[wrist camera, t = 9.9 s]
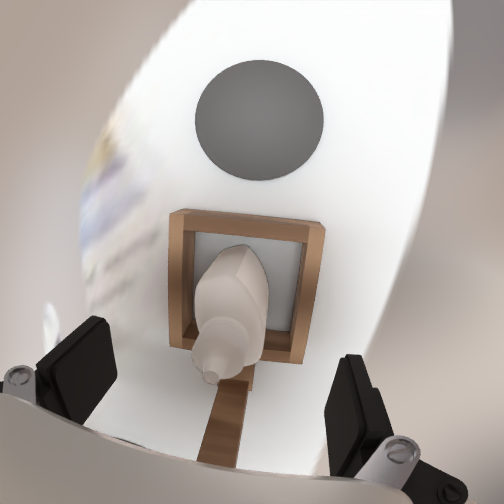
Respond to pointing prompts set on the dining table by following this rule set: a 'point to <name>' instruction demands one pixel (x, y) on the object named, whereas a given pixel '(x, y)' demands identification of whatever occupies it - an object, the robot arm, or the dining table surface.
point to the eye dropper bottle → (230, 314)
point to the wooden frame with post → (276, 342)
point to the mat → (259, 120)
